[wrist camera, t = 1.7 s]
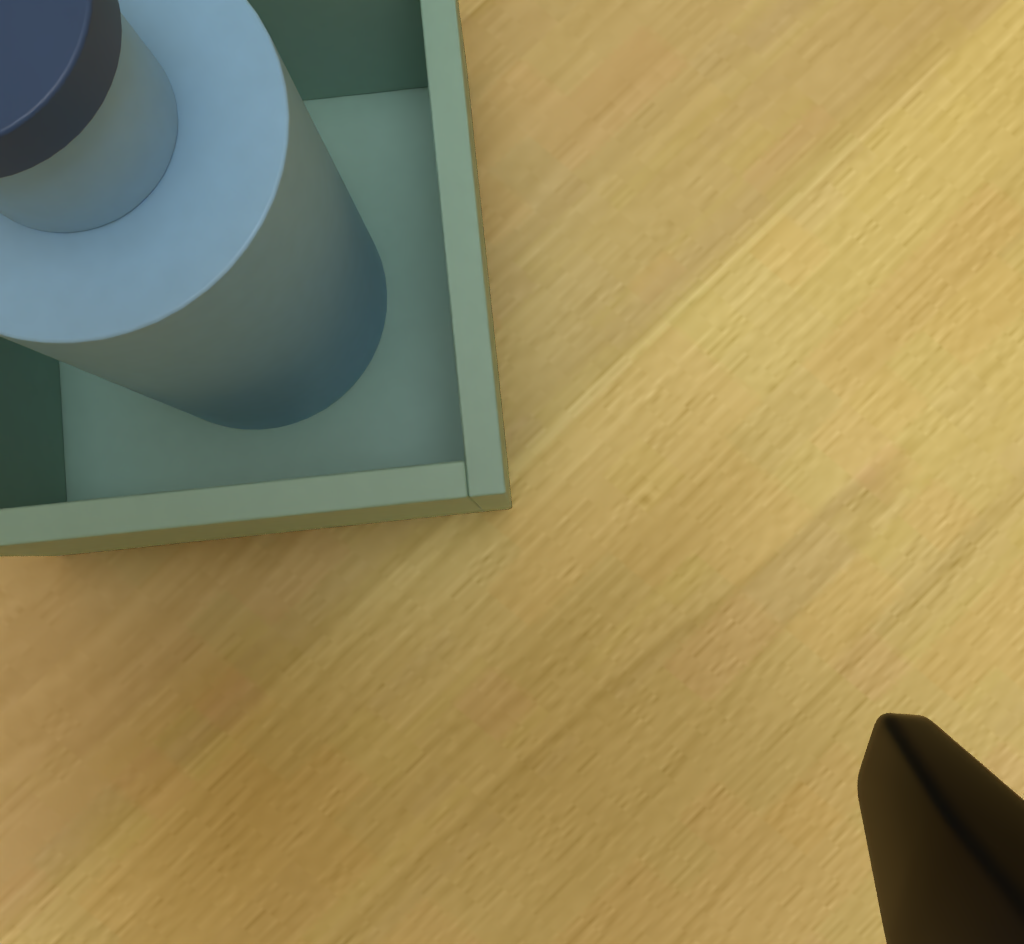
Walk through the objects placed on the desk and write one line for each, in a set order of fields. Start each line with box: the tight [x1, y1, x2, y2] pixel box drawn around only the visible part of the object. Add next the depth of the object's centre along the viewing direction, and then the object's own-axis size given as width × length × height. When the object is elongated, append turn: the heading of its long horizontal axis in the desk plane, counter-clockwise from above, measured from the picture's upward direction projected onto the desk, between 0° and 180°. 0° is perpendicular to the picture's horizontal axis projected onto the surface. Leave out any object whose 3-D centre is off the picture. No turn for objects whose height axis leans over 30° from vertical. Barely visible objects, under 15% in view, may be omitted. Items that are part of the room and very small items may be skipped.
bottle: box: [0, 0, 387, 430], centre depth 16 cm, size 6×6×12 cm
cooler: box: [0, 0, 512, 556], centre depth 20 cm, size 11×11×6 cm
